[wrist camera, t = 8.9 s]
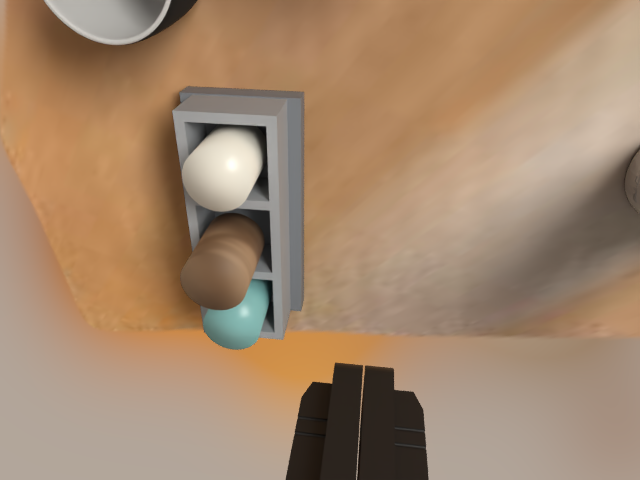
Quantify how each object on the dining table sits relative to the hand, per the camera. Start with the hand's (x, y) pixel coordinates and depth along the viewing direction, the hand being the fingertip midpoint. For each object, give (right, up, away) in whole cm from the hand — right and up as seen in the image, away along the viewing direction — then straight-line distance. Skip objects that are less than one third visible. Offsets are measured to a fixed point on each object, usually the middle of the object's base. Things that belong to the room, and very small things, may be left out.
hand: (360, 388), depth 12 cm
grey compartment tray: (-8, +7, +34) cm, 35 cm away
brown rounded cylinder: (-8, +4, +29) cm, 30 cm away
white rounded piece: (-8, +11, +28) cm, 31 cm away
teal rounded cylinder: (-8, 0, +35) cm, 36 cm away
